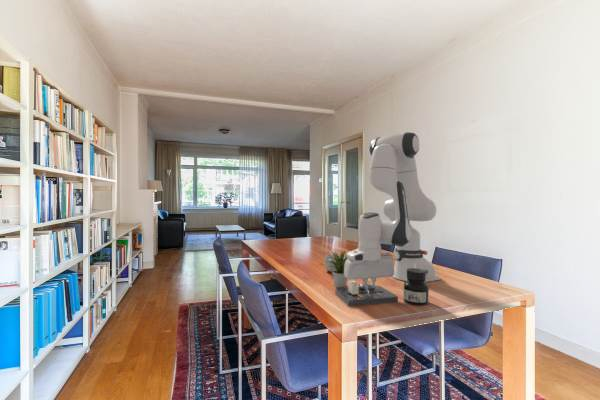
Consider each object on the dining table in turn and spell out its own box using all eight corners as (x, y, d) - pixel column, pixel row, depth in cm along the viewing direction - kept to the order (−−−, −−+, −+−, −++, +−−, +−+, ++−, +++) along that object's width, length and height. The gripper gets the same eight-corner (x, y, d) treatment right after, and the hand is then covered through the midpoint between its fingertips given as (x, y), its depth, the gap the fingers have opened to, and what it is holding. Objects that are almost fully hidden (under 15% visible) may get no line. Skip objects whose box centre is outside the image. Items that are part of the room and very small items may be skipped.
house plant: (327, 279, 144) (328, 245, 143) (356, 281, 140) (357, 246, 139) (320, 287, 130) (320, 250, 130) (352, 291, 126) (353, 252, 126)
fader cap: (353, 290, 119) (353, 280, 119) (358, 294, 115) (358, 283, 115) (348, 291, 119) (348, 281, 119) (352, 294, 115) (352, 284, 115)
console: (379, 290, 127) (379, 281, 127) (397, 302, 114) (398, 292, 114) (335, 293, 123) (335, 284, 123) (348, 306, 109) (348, 295, 109)
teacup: (330, 267, 166) (331, 253, 166) (348, 270, 160) (348, 255, 160) (317, 272, 155) (317, 257, 155) (335, 276, 149) (336, 260, 148)
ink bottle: (398, 301, 114) (399, 270, 114) (407, 295, 121) (407, 266, 121) (425, 308, 108) (425, 275, 108) (432, 301, 115) (433, 270, 115)
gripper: (389, 251, 124) (388, 284, 124) (342, 253, 119) (342, 287, 120) (397, 254, 118) (397, 289, 118) (348, 256, 113) (348, 293, 114)
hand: (369, 288), depth 119 cm, fingers closed
